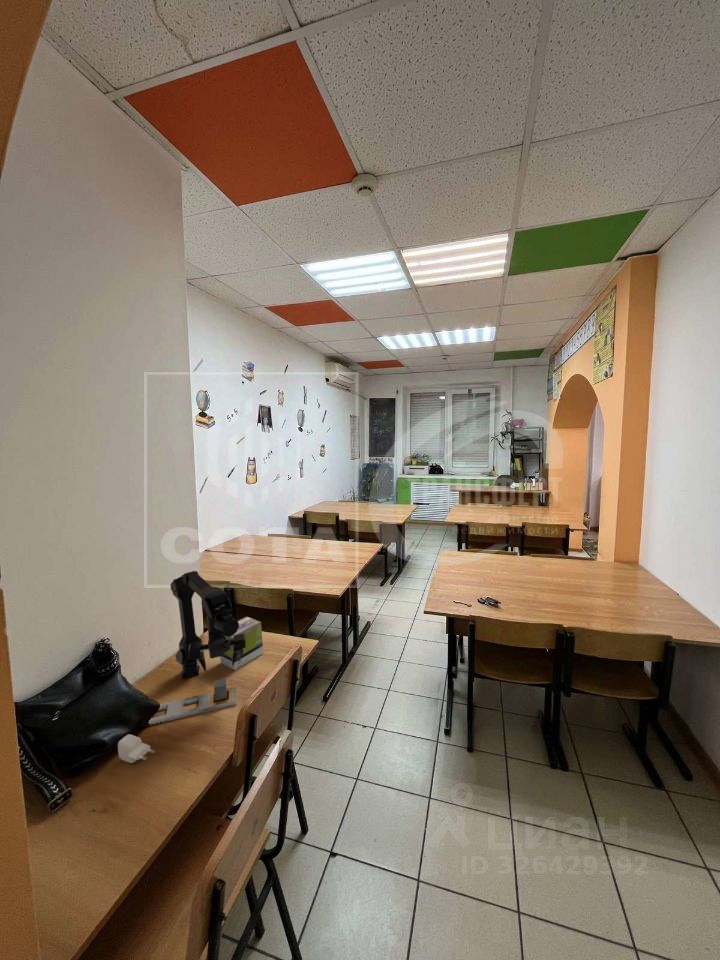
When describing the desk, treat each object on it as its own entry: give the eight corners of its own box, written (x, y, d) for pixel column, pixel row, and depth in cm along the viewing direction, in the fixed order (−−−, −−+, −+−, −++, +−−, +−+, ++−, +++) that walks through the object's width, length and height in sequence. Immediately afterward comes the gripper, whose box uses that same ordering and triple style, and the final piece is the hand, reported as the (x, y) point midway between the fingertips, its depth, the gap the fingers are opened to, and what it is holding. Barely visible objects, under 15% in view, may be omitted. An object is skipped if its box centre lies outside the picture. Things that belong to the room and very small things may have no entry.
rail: (145, 711, 131) (144, 706, 131) (235, 690, 141) (235, 686, 140) (140, 727, 123) (139, 723, 123) (236, 704, 133) (236, 700, 133)
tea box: (249, 646, 170) (247, 615, 169) (263, 653, 164) (262, 621, 163) (219, 663, 158) (217, 629, 156) (234, 671, 152) (232, 636, 151)
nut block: (215, 699, 136) (214, 680, 136) (227, 696, 138) (226, 678, 137) (215, 706, 133) (214, 687, 132) (227, 703, 134) (226, 685, 133)
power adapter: (158, 759, 111) (156, 741, 110) (143, 773, 106) (141, 754, 106) (131, 748, 115) (130, 731, 114) (116, 761, 111) (114, 743, 110)
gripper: (185, 643, 122) (188, 688, 124) (245, 632, 128) (247, 675, 130) (188, 627, 132) (191, 668, 134) (243, 617, 138) (246, 657, 140)
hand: (219, 668), depth 134 cm, fingers open, 9 cm apart
